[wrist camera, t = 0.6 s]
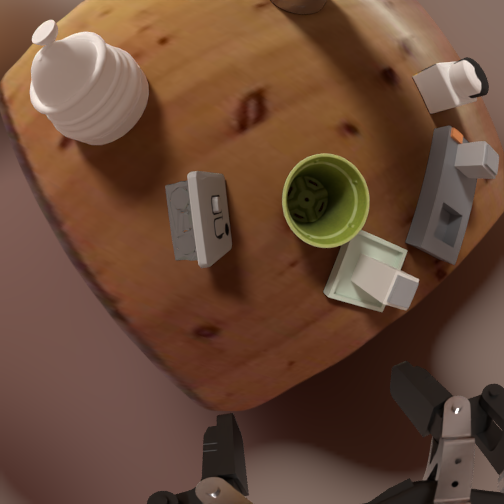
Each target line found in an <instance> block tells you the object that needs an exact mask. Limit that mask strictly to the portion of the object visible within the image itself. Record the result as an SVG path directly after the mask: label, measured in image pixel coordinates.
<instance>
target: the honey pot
mask: <svg viewBox="0 0 504 504" xmlns="http://www.w3.org/2000/svg"><path fill="white" fill-rule="evenodd" d="M57 34H58V27H57V24H56V23H55V21H54V20H48V21H46V22H44V23H43V24H41V26H40V27H38V28H37V30H36V31H35V33H34V34H33V37H32V42H33V43H34V44H37V45H46V46H44V47H43V48H42V49H40V50H39V51H38V53H37V54H36V56H35V57H34V60H33V62H32V67H31V78H32V81H31V86H30V97H31V102H32V104H33V106H34V108H35V109H36V110H38V111H39V112H40V113H42V114H46V116H47V117H48V119H50V120H51V121H52V123H53V124H54V126H55V128H56V129H57V130H58V131H59V132H60V133H62V134H63V135H64V136H65V137H68V138H71V139H74V140H78V141H81V142H84V143H87V144H90V145H103V144H107V143H110V142H113V141H115V140H117V139H119V138H120V137H122V136H124V135H125V134H126V133H127V132H128V131H129V130H131V129H132V128H133V127H134V125H135V124H136V123H137V121H138V120H139V119H140V118H141V116H142V114H143V112H144V110H145V108H146V105H147V101H148V96H149V84H148V81H147V79H146V76H145V74H144V73H143V71H142V70H141V68H140V67H139V65H138V64H137V63H136V61H135V60H134V59H133V57H132V56H131V55H130V54H129V53H128V52H126V51H124V50H122V49H120V48H117V47H113V46H110V45H108V44H106V43H105V41H104V40H103V39H102V37H101V36H100V35H97V34H95V33H93V32H80V33H76V34H73V35H71V36H68V37H66V38H64V39H63V40H58V41H55V39H56V37H57ZM54 41H55V42H54Z"/></svg>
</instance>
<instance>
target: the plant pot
mask: <svg viewBox="0 0 504 504" xmlns="http://www.w3.org/2000/svg"><path fill="white" fill-rule="evenodd" d="M309 180H310V181H312V182H315V183H316V184H317V185H318V186H315V185H313V184H311V183H309V182H308V181H309ZM290 187H293V189H292V191H291V192H290V196H289V197H288V196H287V194H288V191H289V189H290ZM305 198H308V199H309V200H308V201H305ZM322 202H323V203H324V205H323V209H322V210H321V211H320V212H319V211H318V210H319V209H320V207H321V205H322ZM282 207H283V213H284V216H285V219H286V221H287V223H288V225H289V227H290V228H291V230H292V231H293V232H294V233H295V235H296V236H298V237H299V238H300V239H301V240H303V241H304V242H306V243H308V244H310V245H312V246H315V247H320V248H332V247H337V246H340V245H343V244H345V243H347V242H349V241H350V240H352V239H353V238H354V237H355V236H356V235H357V234H358V233H359V231H360V230H361V229H362V227H363V225H364V224H365V221H366V219H367V216H368V212H369V192H368V188H367V184H366V182H365V180H364V178H363V176H362V175H361V173H360V172H359V170H358V169H357V168H356V167H355V166H354V165H353V164H352V163H351V162H349V161H347V160H346V159H344V158H342V157H340V156H337V155H333V154H317V155H313V156H310V157H307V158H305V159H304V160H302V161H301V162H299V163H298V164H297V165H296V166H295V167H294V168H293V169H292V171H291V172H290V174H289V175H288V177H287V179H286V181H285V185H284V188H283V194H282ZM295 213H296V214H298V215H300V216H302V217H304V218H303V219H301V218H298V217H296V216H295V215H294V214H295Z"/></svg>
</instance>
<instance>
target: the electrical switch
mask: <svg viewBox="0 0 504 504" xmlns="http://www.w3.org/2000/svg"><path fill="white" fill-rule="evenodd" d="M187 178H188V181H180V182H178V183H175V184H170V185H167V186H165V188H166V197H167V205H168V213H169V220H170V228H171V235H172V241H173V248H174V254H175V260H198V264H199V266H200V267H201V268H205V267H210V266H211V265H213V264H214V263H215V262H216V261H217V260H219V259H220V258H221V257H222V256H223V255H225V254H226V253H227V252H228V251H229V250H231V248H232V239H231V230H230V222H229V213H228V204H227V196H226V186H225V178H224V176H223V174H218V173H210V172H201V171H194V172H190V173H189V174H188V175H187ZM185 189H186V190H185ZM174 190H175V191H174ZM170 200H171V201H170ZM187 205H188V206H187ZM178 209H180V210H178ZM181 212H184V213H181ZM190 228H191V230H190ZM184 230H188V231H187V232H183V231H184ZM177 248H178V249H177Z"/></svg>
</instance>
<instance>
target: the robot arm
mask: <svg viewBox="0 0 504 504" xmlns="http://www.w3.org/2000/svg"><path fill="white" fill-rule="evenodd" d="M271 1H272V3H274V4H275V5H276V6H278V7H280V8H281V9H284V10H286V11H289V12H292V13H297V14H312V13H316V12H318V11H319V10H321V9H322V7H323V6H324V4H325V3H326V1H327V0H271ZM390 392H391V395H392V397H393V399H394V400H395V401H396V402H397V404H398V405H399V406H400V408H401V409H402V410H403V411H404V413H405V414H406V415H407V417H408V418H409V419H410V421H411V422H412V423H413V424H414V426H415V427H416V428H417V430H418V431H419V432H420V434H421V435H422V436H423V437H425V436H427V435H429V434H430V433H431V434H432V436H433V437H432V441H431V448H430V454H429V459H428V465H427V469H426V472H425V475H424V478H423V480H422V481H416V482H412V481H411V480H410V479H407V480H405V481H403V482H401V483H399V484H397V485H395V486H393V487H391V488H389V489H387V490H386V491H385V492H383V493H382V494H380V495H379V496H378V497H376V498H375V499H373V500H372V501H370V502H368V503H365V504H504V388H503V387H502V386H500V385H498V384H490V385H488V386H486V387H485V388H484V389H483V392H482V394H481V395H479V396H476V397H473V398H470V399H466V398H465V397H462V396H452V395H451V394H450V393H449V392H448V391H447V390H446V389H445V388H444V387H443V386H442V385H441V384H440V383H439V382H438V381H436V379H435V378H434V377H433V376H431V374H430V373H429V372H428V371H427V370H425V369H423V368H421V367H418V366H416V367H413V366H412V365H411V364H410V363H409V362H407V361H405V362H402V363H400V364H398V365H395V366H393V368H392V375H391V384H390ZM493 420H494V421H495V423H496V424H497V425H498V426H499V427H500V428H501V429H502V430H501V429H500V428H499V427H498V426H497V425H496V424H495V423H494V421H493ZM475 443H476V445H477V446H478V447H479V449H480V450H481V451H482V453H483V454H484V455H485V456H486V458H487V459H488V460H489V462H490V463H491V465H492V466H493V467H494V469H495V470H496V472H497V473H498V474H499V478H498V490H499V491H500V492H493V491H484V490H477V489H471V486H472V478H473V467H474V451H475ZM203 444H204V445H203V465H202V479H201V481H200V483H198V485H197V486H196V487H195V488H194V489H192V490H189V491H186V492H183V493H179V494H176V495H174V494H173V493H171V492H168V491H159V492H156V493H154V494H152V495H151V496H150V497H149V499H148V501H147V504H253V502H251V501H250V500H248V499H247V498H246V497H245V496H247V495H249V493H248V484H247V476H246V466H245V457H244V447H243V439H242V435H241V432H240V429H239V427H238V424H237V422H236V419H235V417H234V415H233V413H230V414H223V415H218V416H217V426H212V427H208V429H207V430H206V432H205V434H204V441H203Z"/></svg>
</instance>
